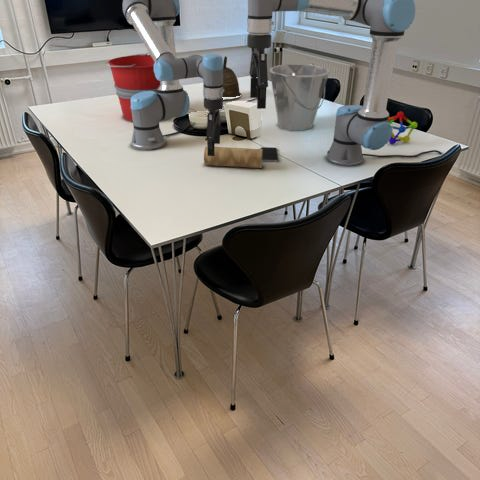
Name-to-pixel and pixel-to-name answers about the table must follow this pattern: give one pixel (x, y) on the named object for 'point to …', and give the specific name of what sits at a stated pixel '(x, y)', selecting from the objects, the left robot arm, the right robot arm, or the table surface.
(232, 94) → the bell
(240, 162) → the brown cylinder
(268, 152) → the smartphone
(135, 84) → the bucket
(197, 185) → the table surface
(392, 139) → the educational toy
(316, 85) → the bucket
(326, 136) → the table surface
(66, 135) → the table surface
